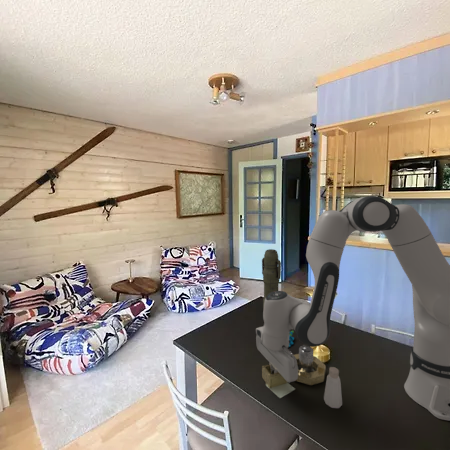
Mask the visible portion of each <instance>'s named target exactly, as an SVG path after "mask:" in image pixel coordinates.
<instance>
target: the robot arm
mask: <svg viewBox="0 0 450 450" xmlns="http://www.w3.org/2000/svg"><path fill="white" fill-rule="evenodd" d="M356 231H358V232H361V233H362V232H363V233H366V232H367V233H368V232H369V233H370V232H371V233H375V232H382V234H384V235H385V237H386V238H387V241H388V243H389V245H390V247H391V249H392V251H393V253H394V254H395V257H396V259H397V260H398V262H399V264H400V267H401V268H402V270H403V271H404V273H405V274H406V277H407V278H408V280H409V282H410V283H411V288H412V289H411V290H412V308H413V309H412V310H413V318H414V319H413V320H414V322H413V323H414V330H413V331H414V332H413V333H414V334H413V346H412V347H411V352H410V359H409V364H410V369H409V374H408V376H407V378H406V381H405V382H404V384H403V387H404V390H405V393H406V394H407V395H408V396H409V398H411V399H412V400H413V401H414V402H416V404H419V405H420V406H421V407H423V408H425V409H426V410H428V412H430V413H431V414H432V415H433V416H434V417H435V418H437V419H439V420H443V421H450V263H449V262H448V260H447V259H446V257H445V256H444V254H443V253H442V250H441V249H440V247H439V244H438V243H437V241H436V239H435V237H434V235H433V234H432V232H431V230H430V228H429V226H428V225H427V223H426V221H425V220H424V219H423V217H422V216H421V214H420V213H419V212H418V211H417V210H416V208H414V207H413V206H412V205H410V204H405V203H404V204H403V203H400V204H396V205H395V204H393V203H392V202H390V201H388V200H387V199H386V198H383V197H381V196H377V195H368V196H362V197H358V198H356V199H354V200H352V201H349V202H348V203H347V204H346V205H344V207H343V208H341V209H340V210H334V209H330V210H326V211H323V212H322V213H321V214H320V216H319V217H318V219H317V221H316V222H315V225H314V226H313V229H312V232H311V234H310V237H309V239H308V243H307V245H306V253H305V257H306V261H307V263H308V264H309V267H310V268H311V272H312V273H313V278H314V286H313V291H312V295H311V300H310V302H309V301H308V300H307V299H304V298H298V297H297V298H296V297H295V296H291V294H288V293H287V292H286V291H283V290H278V291H274V292H271V293H269V294H268V295H267V296H266V298H265V302H264V310H263V312H262V319H263V322H264V323H263V326H259V327H256V328H255V334H256V337H255V339H256V340H255V341H256V342H255V343H256V348H257V351H259V352H260V353H261V355H262V356H263V358H265V359H266V360H267V362H269V363H268V365H269V364H270V367H271V374H274V373H278V372H279V373H280V374H281V375H282V377H283V378H284V379H285V380H286V381H287V383H293V382H296V381H295V380H297V379H298V367H299V365H297V360H296V358H295V356H294V355H295V354H294V353H293V352H292V351H291V350H290V349H289V348H290V347H289V344H290V341H289V332H291V331H292V330H293V331H294V333H295V335H296V336H297V338H298V340H299V342H300V343H301V344H302V345H306V346H309V347H311V348H315V347H319V346H322V345H323V344H325V343H326V342H327V341H328V339H329V337H330V335H331V329H332V328H331V326H332V325H331V316H332V311H333V307H334V303H335V299H336V295H337V290H338V286H339V280H340V267H341V266H340V265H341V260H342V256H343V252H344V249H345V247H346V244H347V240H348V239H349V237H350V235H352V234H353V233H355V232H356Z"/></svg>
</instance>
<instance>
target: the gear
mask: <svg viewBox="0 0 450 450" xmlns="http://www.w3.org/2000/svg"><path fill="white" fill-rule="evenodd" d="M294 333H295V330H294V329H291V330H290V331H289V347H288V348H290V347H291V346H292V345H294V342H293V341H294V340H295V337H294V336H293V334H294Z"/></svg>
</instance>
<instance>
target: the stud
mask: <svg viewBox="0 0 450 450" xmlns="http://www.w3.org/2000/svg"><path fill="white" fill-rule="evenodd" d="M298 354H299V365H298V370H301V368H302V369H305V370H306V372H307V373H311V372H314V371H315V369H314V367H313V356H314V349H313V347H309V346H306V345H304V344H302V345H301V346H299V348H298Z"/></svg>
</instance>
